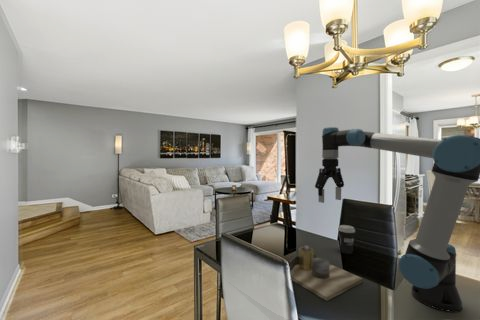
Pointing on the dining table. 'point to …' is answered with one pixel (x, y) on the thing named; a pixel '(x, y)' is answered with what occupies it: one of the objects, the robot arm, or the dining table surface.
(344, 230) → the coffee cup
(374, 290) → the dining table surface
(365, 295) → the dining table surface
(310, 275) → the carrier
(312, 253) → the tan piece
